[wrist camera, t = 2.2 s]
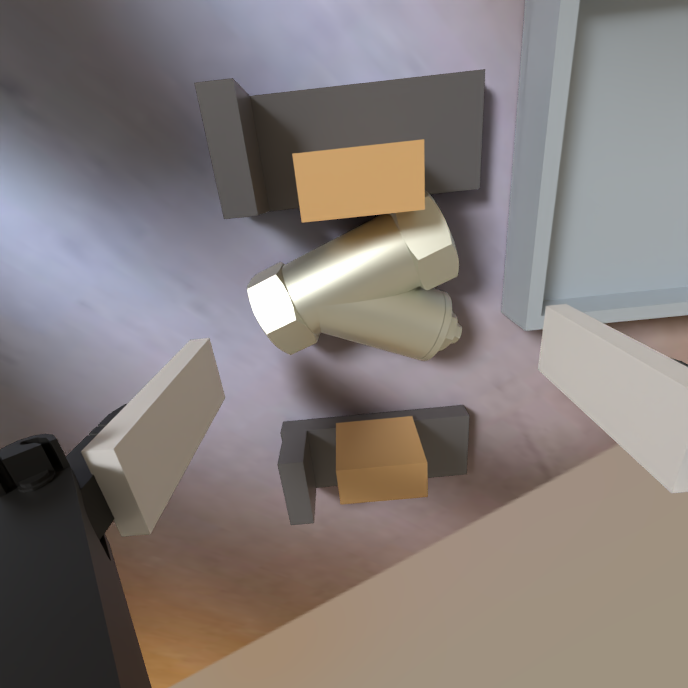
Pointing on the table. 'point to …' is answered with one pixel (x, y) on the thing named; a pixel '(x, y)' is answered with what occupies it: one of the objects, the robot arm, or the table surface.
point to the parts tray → (600, 162)
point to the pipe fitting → (366, 288)
